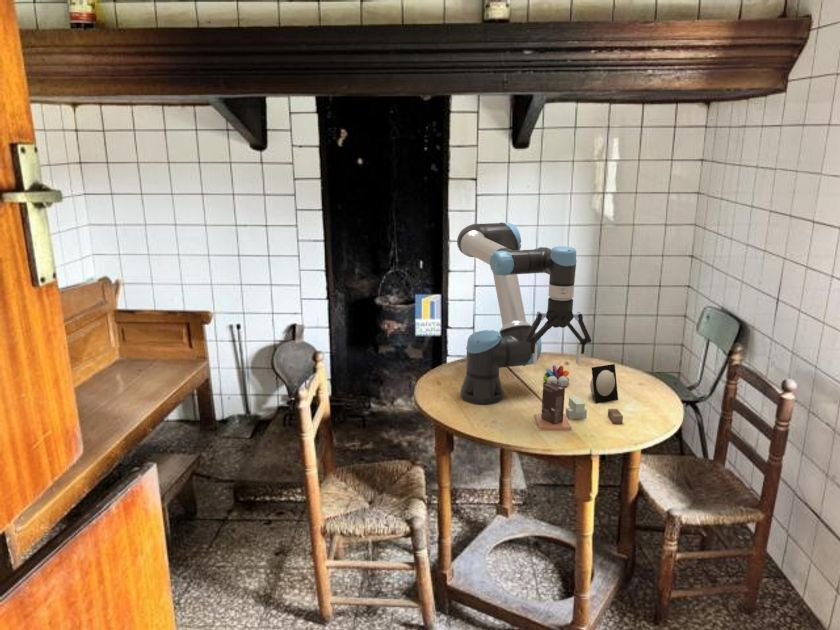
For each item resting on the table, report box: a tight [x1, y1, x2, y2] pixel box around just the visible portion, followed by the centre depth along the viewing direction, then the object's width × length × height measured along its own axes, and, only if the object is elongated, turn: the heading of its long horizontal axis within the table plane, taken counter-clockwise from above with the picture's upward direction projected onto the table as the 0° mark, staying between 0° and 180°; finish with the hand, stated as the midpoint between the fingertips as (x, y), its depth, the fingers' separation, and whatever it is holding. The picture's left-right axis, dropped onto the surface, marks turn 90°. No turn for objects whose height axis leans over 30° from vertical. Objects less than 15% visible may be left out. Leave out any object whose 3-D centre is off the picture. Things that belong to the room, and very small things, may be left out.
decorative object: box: [589, 363, 619, 405], centre depth 226 cm, size 13×10×10 cm
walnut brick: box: [607, 408, 624, 425], centre depth 209 cm, size 6×3×3 cm, turn 0°
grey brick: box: [565, 406, 588, 420], centre depth 211 cm, size 6×3×3 cm, turn 100°
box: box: [541, 382, 566, 425], centre depth 204 cm, size 6×4×12 cm
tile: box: [534, 413, 572, 431], centre depth 206 cm, size 10×10×1 cm
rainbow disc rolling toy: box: [542, 364, 570, 388], centre depth 239 cm, size 8×10×7 cm
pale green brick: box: [568, 396, 586, 413], centre depth 210 cm, size 6×3×3 cm, turn 10°
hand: (556, 363), depth 201 cm, fingers open, 13 cm apart
